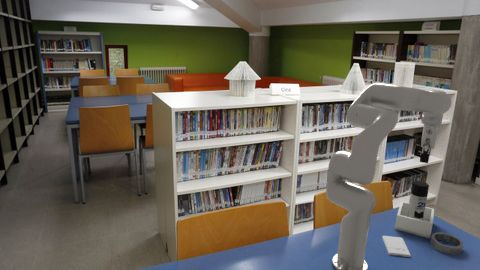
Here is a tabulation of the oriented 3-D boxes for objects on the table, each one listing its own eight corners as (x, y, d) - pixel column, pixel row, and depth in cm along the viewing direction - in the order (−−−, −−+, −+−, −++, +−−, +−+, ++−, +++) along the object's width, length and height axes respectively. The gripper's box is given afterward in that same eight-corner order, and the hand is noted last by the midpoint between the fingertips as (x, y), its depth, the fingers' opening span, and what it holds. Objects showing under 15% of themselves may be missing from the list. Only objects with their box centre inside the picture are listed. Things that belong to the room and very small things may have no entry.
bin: (429, 238, 151) (432, 224, 149) (394, 229, 157) (396, 215, 156) (431, 222, 164) (434, 208, 162) (399, 214, 171) (401, 201, 169)
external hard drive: (402, 240, 150) (410, 258, 138) (381, 238, 151) (388, 255, 139) (402, 237, 149) (411, 254, 137) (382, 235, 151) (389, 252, 139)
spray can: (412, 228, 156) (419, 187, 151) (402, 221, 163) (409, 180, 157) (425, 227, 158) (433, 186, 152) (415, 219, 164) (422, 179, 159)
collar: (461, 257, 138) (463, 251, 137) (429, 248, 143) (431, 242, 143) (461, 244, 147) (462, 237, 147) (431, 236, 153) (432, 229, 152)
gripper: (441, 125, 138) (433, 166, 143) (442, 117, 152) (435, 155, 157) (420, 123, 142) (413, 163, 146) (423, 115, 156) (416, 152, 161)
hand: (424, 159), depth 152 cm, fingers open, 9 cm apart
